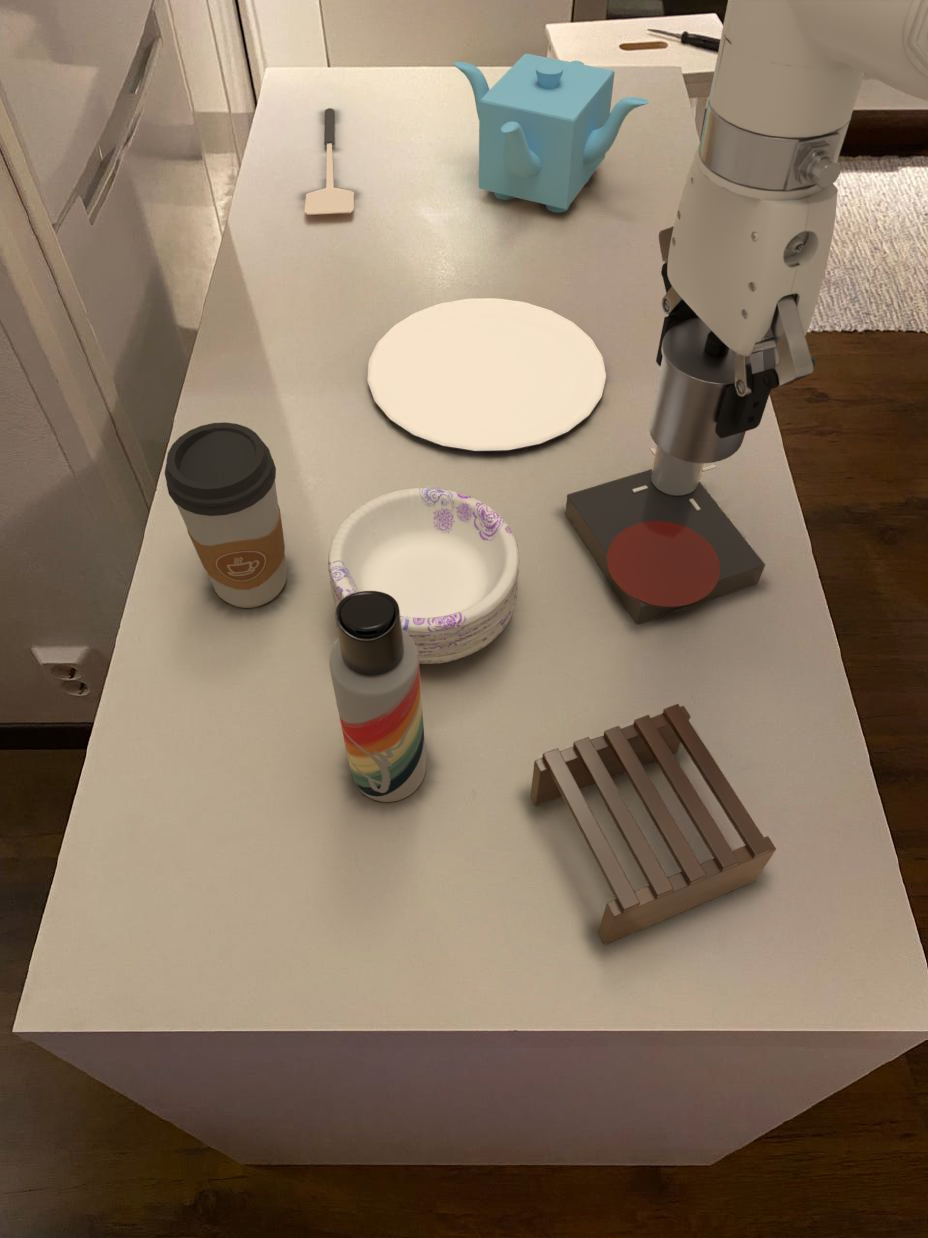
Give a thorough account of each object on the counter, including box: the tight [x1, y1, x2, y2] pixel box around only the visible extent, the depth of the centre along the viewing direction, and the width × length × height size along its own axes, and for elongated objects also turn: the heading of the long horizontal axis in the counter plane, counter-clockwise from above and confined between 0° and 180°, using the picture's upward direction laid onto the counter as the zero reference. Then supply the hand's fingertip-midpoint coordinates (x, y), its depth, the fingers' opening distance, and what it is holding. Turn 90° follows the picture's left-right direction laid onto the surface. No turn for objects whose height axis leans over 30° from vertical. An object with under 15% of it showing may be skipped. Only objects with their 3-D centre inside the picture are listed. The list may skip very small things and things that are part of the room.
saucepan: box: [648, 317, 817, 464], centre depth 66 cm, size 7×13×8 cm, turn 112°
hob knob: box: [651, 445, 705, 496], centre depth 85 cm, size 4×4×6 cm
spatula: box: [303, 107, 355, 216], centre depth 126 cm, size 6×29×2 cm, turn 5°
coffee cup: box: [164, 421, 288, 609], centre depth 77 cm, size 8×8×15 cm
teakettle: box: [453, 52, 650, 213], centre depth 117 cm, size 19×19×15 cm
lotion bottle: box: [328, 591, 427, 803], centre depth 64 cm, size 6×6×20 cm
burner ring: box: [607, 521, 720, 607], centre depth 81 cm, size 10×10×1 cm
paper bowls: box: [327, 487, 520, 665], centre depth 78 cm, size 15×15×8 cm
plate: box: [366, 297, 607, 453], centre depth 99 cm, size 25×25×1 cm
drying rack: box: [530, 703, 777, 946], centre depth 66 cm, size 12×12×6 cm
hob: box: [564, 447, 766, 626], centre depth 85 cm, size 14×16×3 cm
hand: (705, 393), depth 66 cm, fingers closed on saucepan, 7 cm apart
